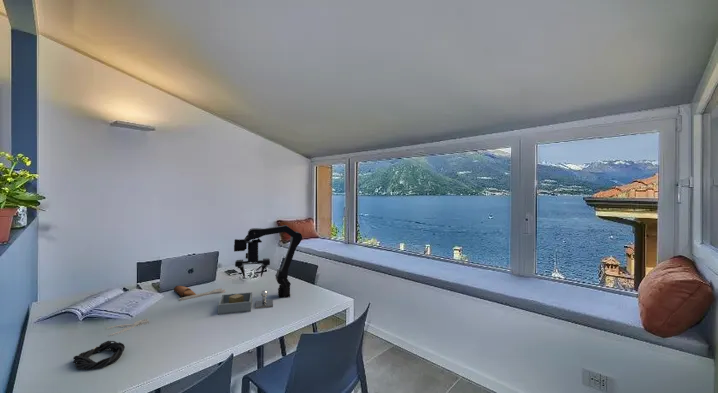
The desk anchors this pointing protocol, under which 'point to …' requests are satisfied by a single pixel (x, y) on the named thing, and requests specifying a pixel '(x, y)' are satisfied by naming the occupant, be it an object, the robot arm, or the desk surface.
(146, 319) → the forked twig
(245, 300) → the bin
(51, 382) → the desk surface
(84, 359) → the cable
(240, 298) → the wooden block
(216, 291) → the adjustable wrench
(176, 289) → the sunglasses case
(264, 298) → the metal ball pedestal
